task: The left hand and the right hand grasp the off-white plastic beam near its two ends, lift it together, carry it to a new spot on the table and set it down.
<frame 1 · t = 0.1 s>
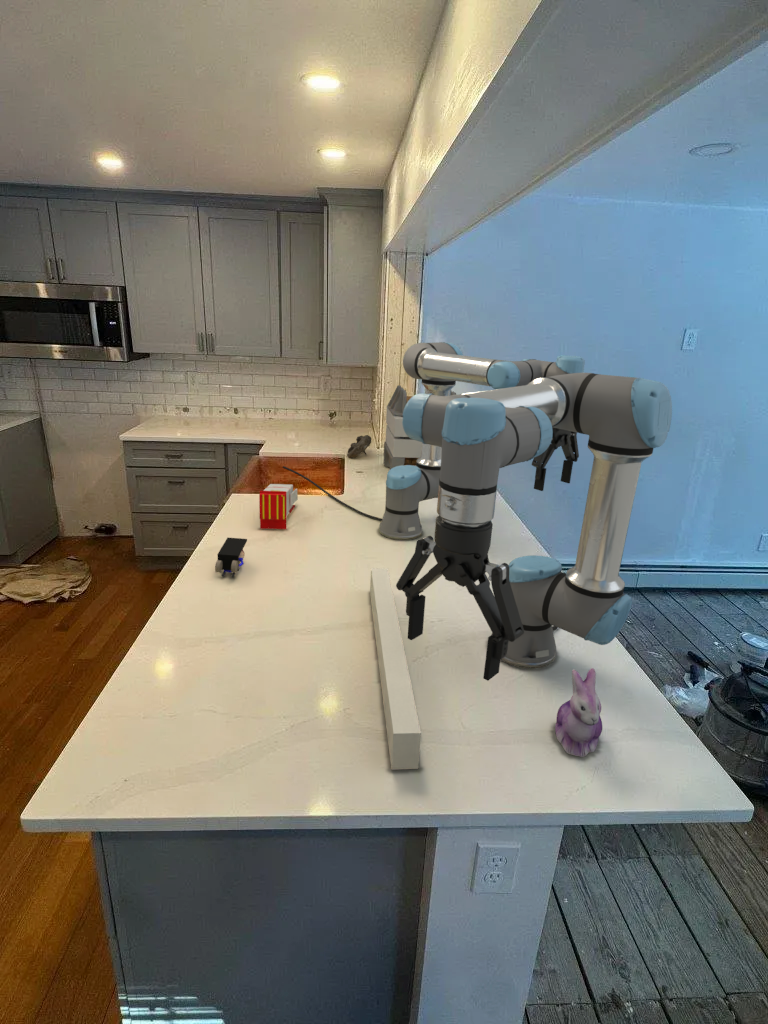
left hand: (552, 485, 166), 28 cm above the counter, tool pointing down, fingers open, 13 cm apart
right hand: (451, 655, 82), 28 cm above the counter, tool pointing down, fingers open, 13 cm apart
transformer: (419, 473, 275), on the counter
beam: (388, 660, 128), on the counter
toy: (278, 516, 211), on the counter
figurine: (577, 741, 106), on the counter
black wheeled rover: (232, 569, 168), on the counter
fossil: (359, 454, 305), on the counter
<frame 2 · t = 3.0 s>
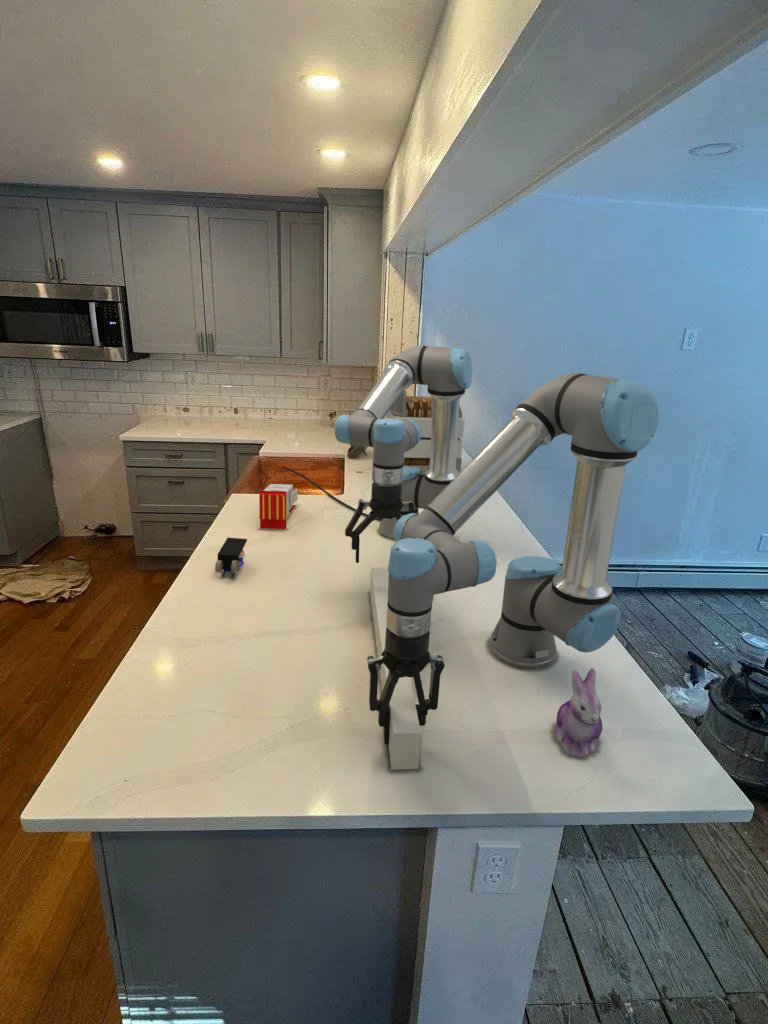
left hand: (383, 561, 147), 13 cm above the counter, tool pointing down, fingers open, 13 cm apart
right hand: (400, 738, 104), 1 cm above the counter, tool pointing down, fingers closed on beam, 5 cm apart
beam: (388, 660, 128), on the counter, touching right hand
everything else where it was.
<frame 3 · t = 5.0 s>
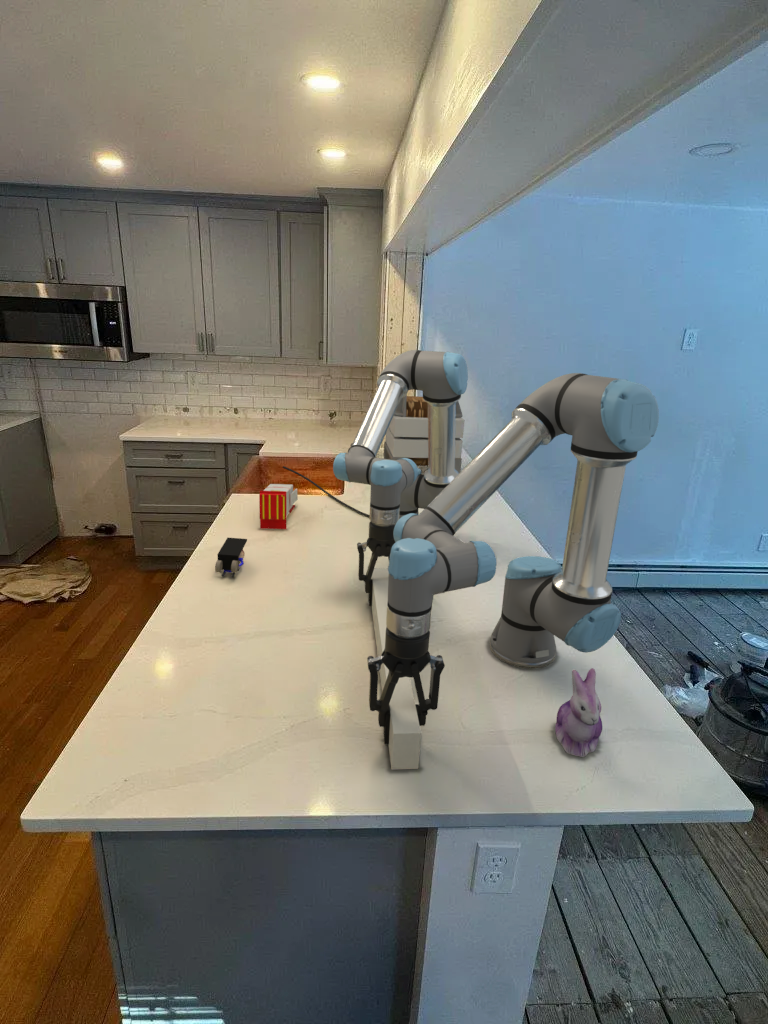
left hand: (380, 603, 151), 1 cm above the counter, tool pointing down, fingers closed on beam, 5 cm apart
right hand: (400, 738, 104), 1 cm above the counter, tool pointing down, fingers closed on beam, 5 cm apart
beam: (388, 660, 128), on the counter, touching left hand, right hand
everything else where it was.
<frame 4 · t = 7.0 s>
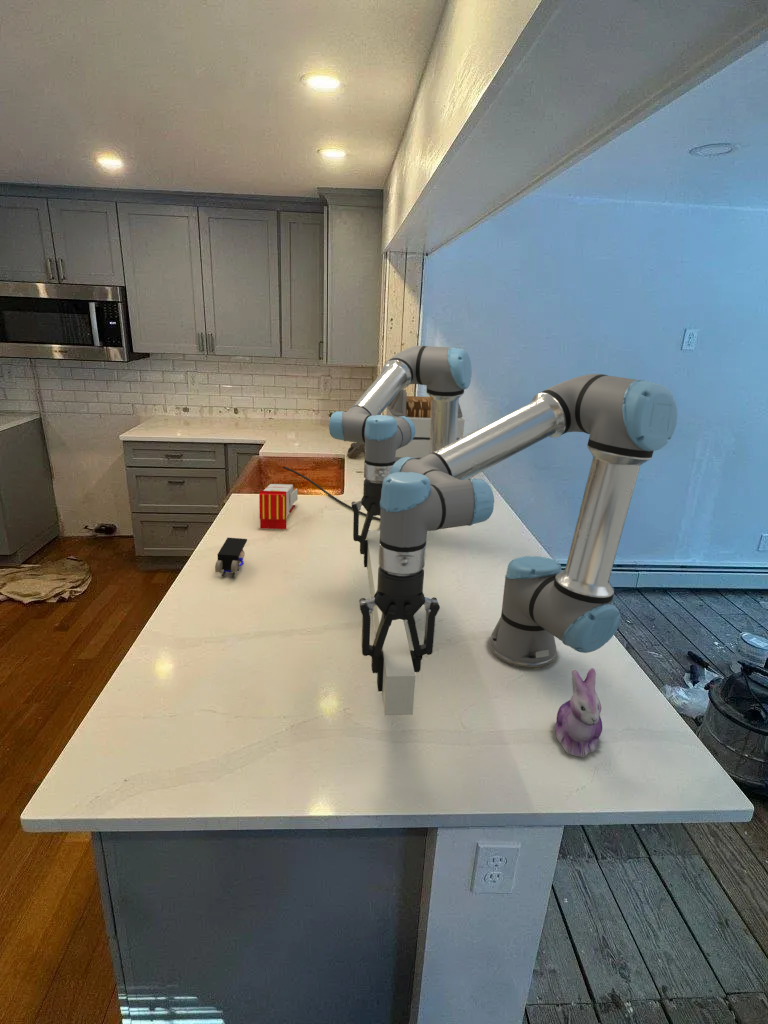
left hand: (375, 564, 148), 12 cm above the counter, tool pointing down, fingers closed on beam, 5 cm apart
right hand: (394, 686, 100), 12 cm above the counter, tool pointing down, fingers closed on beam, 5 cm apart
beam: (383, 616, 124), point 11 cm above the counter, touching left hand, right hand
everything else where it was.
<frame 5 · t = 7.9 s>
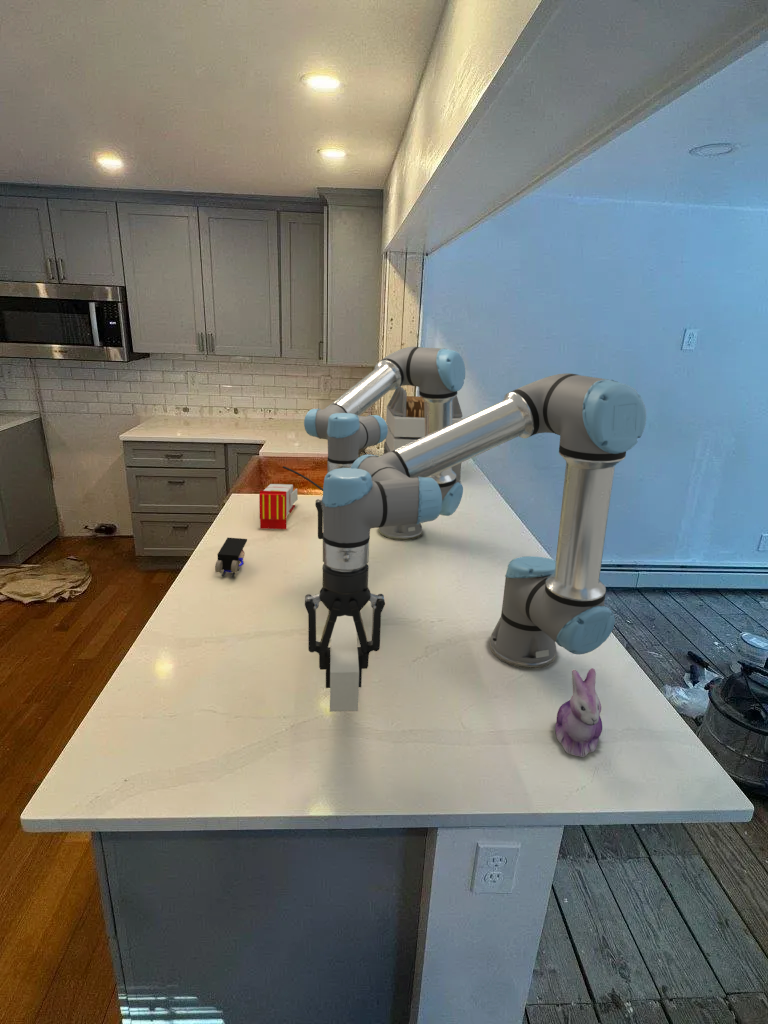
left hand: (341, 562, 148), 12 cm above the counter, tool pointing down, fingers closed on beam, 5 cm apart
right hand: (343, 682, 100), 12 cm above the counter, tool pointing down, fingers closed on beam, 5 cm apart
beam: (342, 614, 124), point 11 cm above the counter, touching left hand, right hand
everything else where it was.
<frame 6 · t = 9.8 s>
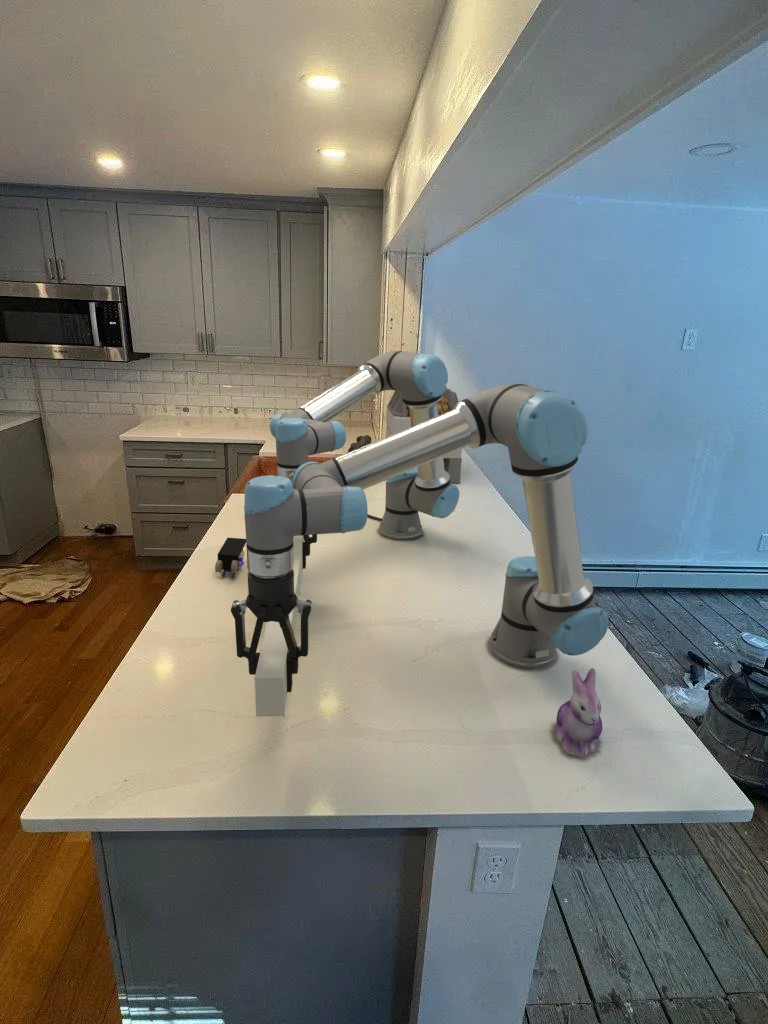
left hand: (293, 566, 149), 10 cm above the counter, tool pointing down, fingers closed on beam, 5 cm apart
right hand: (274, 687, 101), 10 cm above the counter, tool pointing down, fingers closed on beam, 5 cm apart
beam: (286, 618, 125), point 9 cm above the counter, touching left hand, right hand
everything else where it was.
when the right hand's fingers open (2 cm above the counter, at t = 11.0 s): beam drops 2 cm, on the counter.
when the left hand's fingers open (2 cm above the counter, at t = 11.1 s): beam drops 2 cm, on the counter.
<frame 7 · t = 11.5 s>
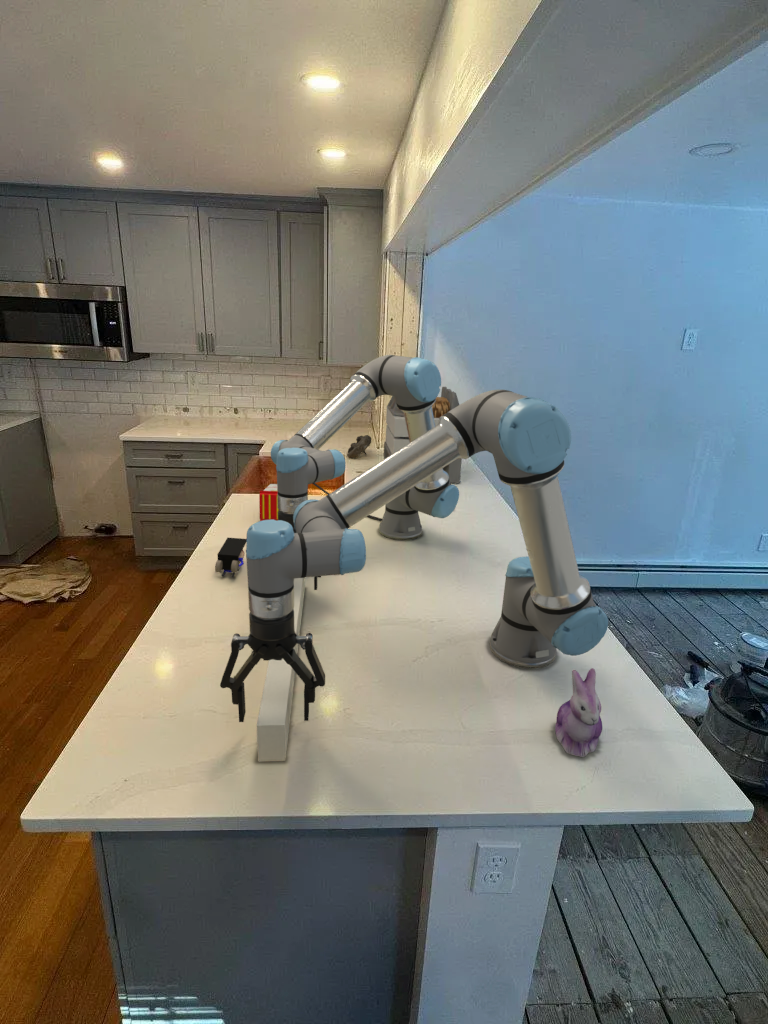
left hand: (293, 587, 150), 4 cm above the counter, tool pointing down, fingers open, 11 cm apart
right hand: (274, 716, 103), 4 cm above the counter, tool pointing down, fingers open, 11 cm apart
beam: (286, 654, 128), on the counter
everything else where it was.
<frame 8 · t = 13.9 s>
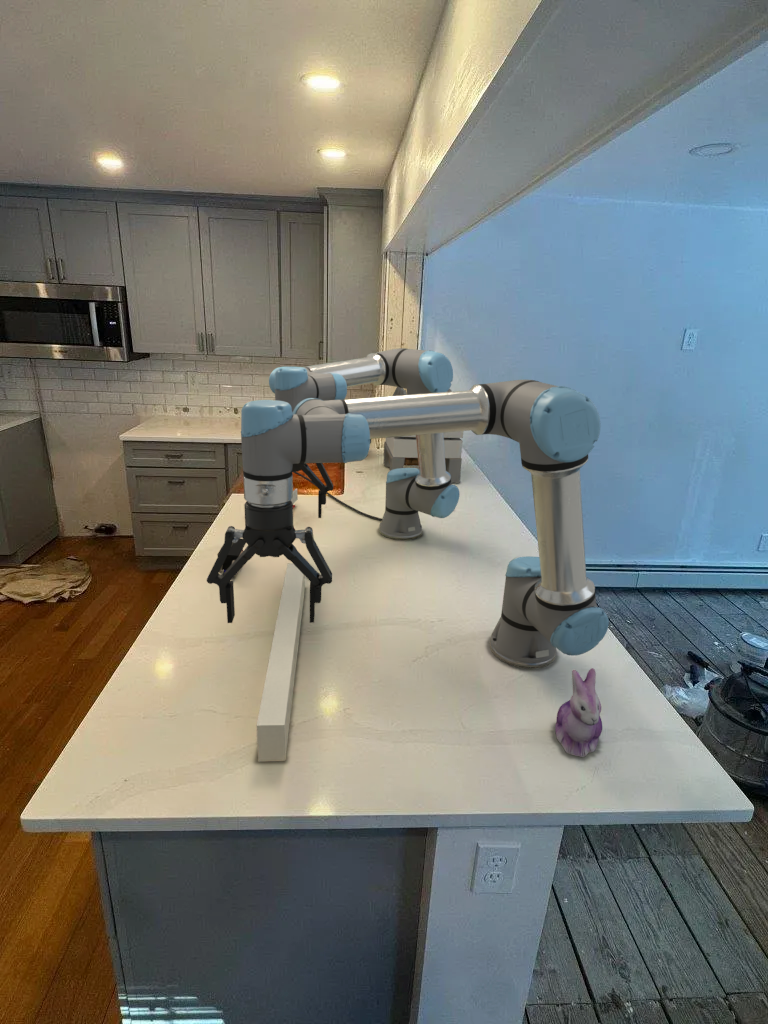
left hand: (292, 516, 144), 24 cm above the counter, tool pointing down, fingers open, 13 cm apart
right hand: (272, 618, 96), 24 cm above the counter, tool pointing down, fingers open, 13 cm apart
nothing on the counter moved.
at the end: beam inside the target area (0.1 cm from its centre), on the counter; beam tilted 0°; beam never tilted more than 1° during the clip; both hands held the beam at the same time; the left hand is holding nothing; the right hand is holding nothing; beam at rest at the end (0.0 cm/s) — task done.
